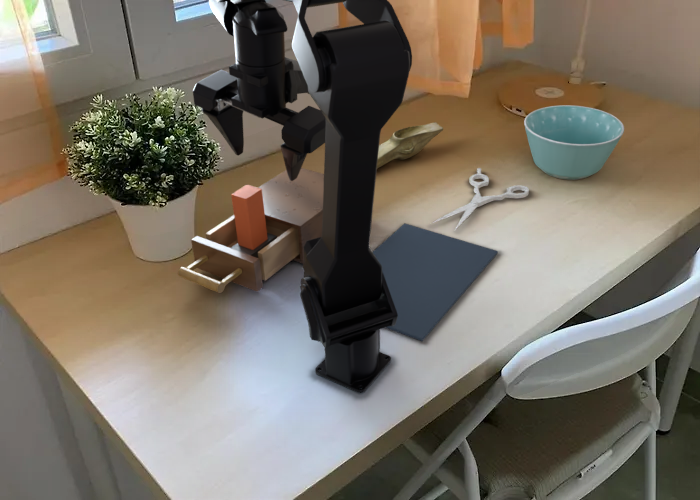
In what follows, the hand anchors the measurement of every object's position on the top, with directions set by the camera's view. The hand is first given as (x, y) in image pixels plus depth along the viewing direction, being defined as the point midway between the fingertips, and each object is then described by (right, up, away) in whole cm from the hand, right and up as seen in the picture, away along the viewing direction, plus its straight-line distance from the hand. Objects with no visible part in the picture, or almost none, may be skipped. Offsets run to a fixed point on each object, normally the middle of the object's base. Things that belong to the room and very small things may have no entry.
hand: (266, 166), depth 92 cm
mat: (+19, -15, +2) cm, 24 cm away
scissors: (+31, -4, +18) cm, 36 cm away
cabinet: (+3, -8, +14) cm, 16 cm away
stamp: (-2, -11, +6) cm, 13 cm away
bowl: (+48, +3, +27) cm, 55 cm away
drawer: (-3, -13, +5) cm, 14 cm away
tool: (+18, +5, +32) cm, 37 cm away
